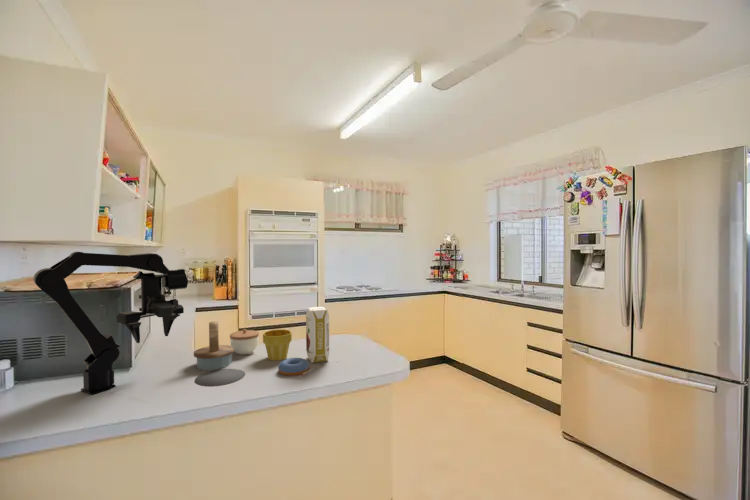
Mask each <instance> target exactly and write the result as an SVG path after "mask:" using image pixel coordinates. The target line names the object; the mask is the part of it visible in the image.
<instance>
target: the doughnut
mask: <svg viewBox="0 0 750 500" xmlns="http://www.w3.org/2000/svg"><path fill="white" fill-rule="evenodd" d="M308 370H309V361H308V360H306V359H305V358H302V357H290V358H286V359H284V360H281V361H280V362H279V364H278V372H279V374H281V375H283V376H287V377H288V376H290V377H291V376H292V377H293V376H300V375H301V376H302V375H304V374H306V372H308Z"/></svg>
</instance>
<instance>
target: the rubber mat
mask: <svg viewBox="0 0 750 500" xmlns="http://www.w3.org/2000/svg"><path fill="white" fill-rule="evenodd" d="M245 376H246V372H245V371H243V370H241V369H237V368H220V369H214V370H209V371H207V372H205V373H202V374H200V375H198V376H196V377H195V379H194V383H195V384H196V385H198V386H201V387H210V388H211V387H221V386H225V385H227V386H228V385H231V384H233V383H237V382H239V381H240V380H242V379H244V377H245Z"/></svg>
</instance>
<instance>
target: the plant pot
mask: <svg viewBox="0 0 750 500" xmlns="http://www.w3.org/2000/svg"><path fill="white" fill-rule="evenodd" d="M292 333H293V332H292V330H289V329H285V328H284V329H283V328H282V329H281V328H279V329H277V328H276V329H271V330H270V329H269V330H267V331H264V332H263V333H262V343H263V344H264V346H265V349H266V353H267V358H268V360H270V361H283V360H285V359H288V358H287V357H288V353H289V349H290V343H291V342H292V339H293V334H292Z"/></svg>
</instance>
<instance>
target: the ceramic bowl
mask: <svg viewBox="0 0 750 500" xmlns="http://www.w3.org/2000/svg"><path fill="white" fill-rule="evenodd" d="M232 356H233V355H232V353H231V354H229V355H227V356H223V357H219V358H211V359H201V358H196V367H197V369H198V370H202V371H214V370H219V369H224V368H225V367H228V366H230V365H231V364H232V363H233V361H232V359H233V358H232Z"/></svg>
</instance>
